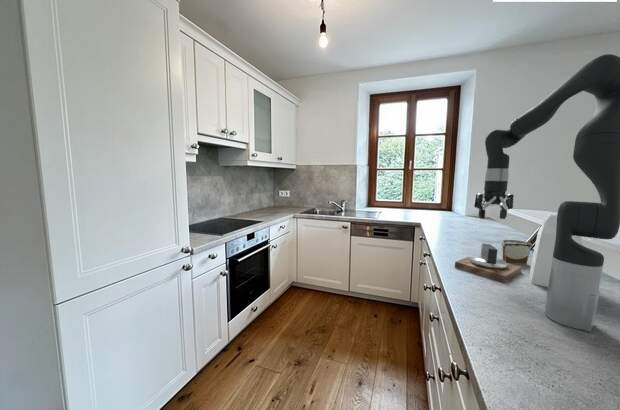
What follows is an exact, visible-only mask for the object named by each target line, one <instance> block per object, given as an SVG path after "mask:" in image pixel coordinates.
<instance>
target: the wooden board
mask: <svg viewBox="0 0 620 410" xmlns="http://www.w3.org/2000/svg"><path fill="white" fill-rule="evenodd" d="M472 255H473V254H472ZM472 255H469V256H466V257H464V258H461V259H459V260H457V261H455V262H454V268H456V269H459V270H462V271H463V270H464V271H465V272H466V271H467V272H469V273H472V274H475V275H476V274H477V275H478V276H483V277H484V278H485V277H486V278H489V279H493V280H497V281H498V282H502V283H506V282H508V281H509V280H511V279H513V278H514V277H516V276H517V275H519V274H520V273H521V272H522V266H521V265H518V264H509V263H507V268H506V269H491V268H486V267H481V266H478V265H475V264H473V263H471V262H470V256H472Z"/></svg>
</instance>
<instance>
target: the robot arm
mask: <svg viewBox="0 0 620 410" xmlns="http://www.w3.org/2000/svg"><path fill="white" fill-rule="evenodd" d="M581 92H585V93H588V94H590V95H593V96H594V97H595V107H594V108H595V109H594V113H593V116H592V117H591V119H589V120H588V121H587V122H586V123H585V124H584V126H582V127H581V129H579V130H578V133H577V134H576V137H575V140H574V146H573V147H574V148H573V155H572V159H573V161H574V163H575V165H576V166H577V167H578V168H579V170H581V172H582V173H583V174H584V175H585V176H586V177H587V178H588V179H589V180H590V181H591V183H592V184H593V186H594V187H595V189H596V191H597V192H598V196H599V199H600V202H589V201H572V200H571V201H570V200H568V201H563V202H561V203H560V205H559V206H558V209H557V213H556V215H557V225H556V239H555V246H554V252H553V258H552V265H551V272H550V279H549V286H548V287H547V293H546V294H547V295H546V300H545V307H544V308H545V309H544V314H545V316H546V317H548V319H550V320H552V321H554V322H556V323H557V324H560V325H562V326H563V325H564V326H566V327H569V328H573V329H578V330H583V331H586V332H592V330H593V328H594V325H595V322H596V318H597V317H596V316H597V312H598V305H599V299H600V287H601V286H600V284H601V278H602V273H603V268H604V264H605V257H604V255H603V254H602V253H600V252H598V251H597V250H594V249H592V248H590V247H586V246H584V245H583V244H582V245H580V244H579V243H577V242H576V241H574V240H573V239H572V236H573V235H574V236H581V237H584V238H590V239H599V240H613V239H614V238H615V237H616V236H617V235H618V233H619V231H620V230H619V229H620V56H618V55H615V54H610V53H609V54H603V55H600V56H597V57H595V58H593V59H592V60H590V61H588V62H587V63H586V64H584V65H583V66H582V67H581V68H579V69H578V70H577V71H575V72H574V73H573V74H572V75H571V76H570V77H568V79H566V80H565V81H563V83H561V84H560V85H559V86H558V87H557V88H555V89H554V90H553V91H552V92H551V93H549V94H548V95H547V96H546V97H545V98H544V99H542V100H541V101H540V102H539V103H537V104H536V105H534V106H533V107H532V108H530V109H528V110H527V111H526V112H524V113H523V114H521V115H519V116H518V117H516V118H515V119H513V120H512V121H511V122H510V124H509V129H506V130H505V129H493V130H491V131H490V132H489V133H488V134H487V135H486V137H485V139H484V143H485V144H484V145H485V151H486V156H487V167H486V168H487V169H486V170H485V171H486V172H485V176H484V187H483V190H484V193H476V194H475V200H474V208H476V209H478V217H479V219H482V220H483V219H484V220H485V218H486V209H487V208H488V207H490V205H497V206H499V208H500V209H499V210H500V211H499V219H500V220H501V219H502V220H505V219H506V218H507V214H508V210H510V209H511V210H512V209H513V208H514V194H512V193H507V194H506V192H507V190H508V184H509V168H510V167H509V166H510V155H509V154H506V153H505V152H504V149H508V148H511V147H513V146H515V145H516V144H518V143H519V142H520V141H521V140H522V139H523V138H525V137H526V136H527V135H528V134H531V133H532V132H533V131H536V130H537V129H539V128H541V127H542V126H544V125H545V124H547V123H548V122H549V121H550V120H551V119H552V118H553V117H554V115H555V114H556V113H557V111H558V110H559V108H560V107H561V106H562V105H563V104H564V103H565V102H566V101H567V100H569V99H570V98H572V97H574V96H575V95H578V94H579V93H581Z"/></svg>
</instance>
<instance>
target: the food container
mask: <svg viewBox="0 0 620 410" xmlns="http://www.w3.org/2000/svg"><path fill="white" fill-rule="evenodd" d="M500 246H502V260H504V261H505V262H507V263H509V264H513V265H527V264H528V261H529V257H530V253H531V249H532V248H533V244H532V243H531V242H528V241H524V240H516V239H503V240H502V241H501V244H500Z"/></svg>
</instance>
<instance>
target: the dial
mask: <svg viewBox="0 0 620 410" xmlns="http://www.w3.org/2000/svg"><path fill="white" fill-rule="evenodd" d="M469 256H470V262H471V263H473V264H475V265H478V266H481V267H486V268H491V269H506V268H507V262H505V261H504V260H503V259H501V258H498V249H497V248H496V247H494V246H493V245H492V244H491V243H482V242H481V251H480V254H472V256H471V255H469Z"/></svg>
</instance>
